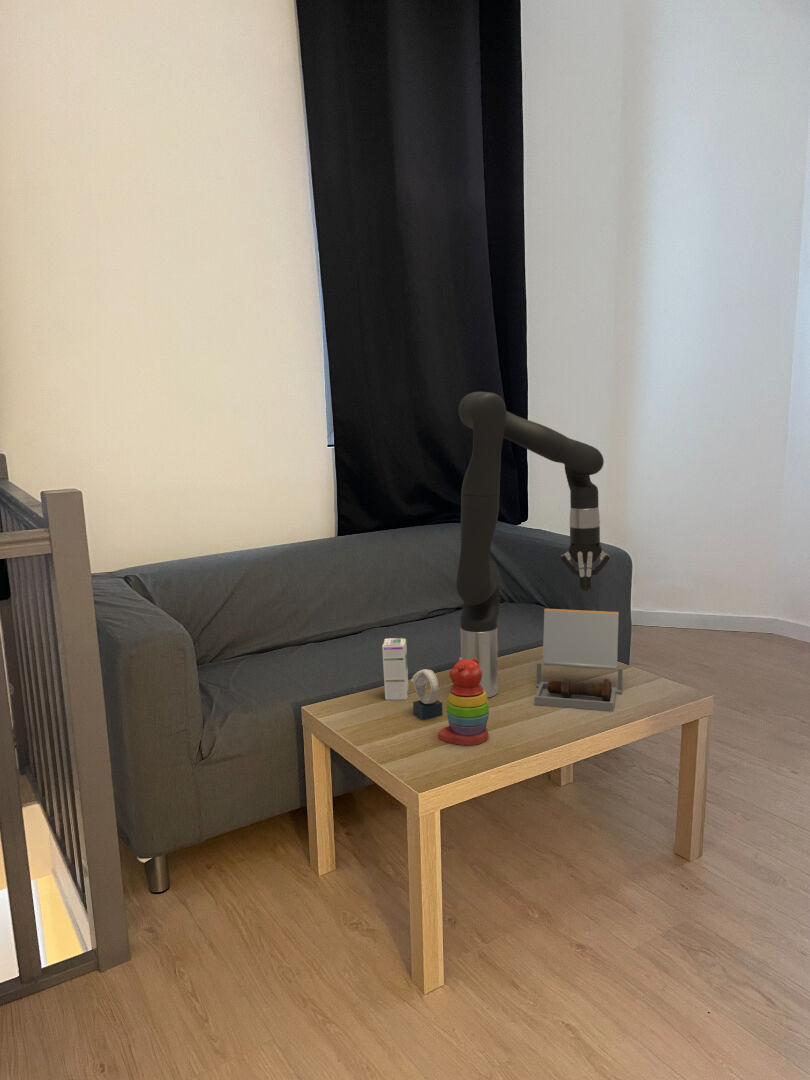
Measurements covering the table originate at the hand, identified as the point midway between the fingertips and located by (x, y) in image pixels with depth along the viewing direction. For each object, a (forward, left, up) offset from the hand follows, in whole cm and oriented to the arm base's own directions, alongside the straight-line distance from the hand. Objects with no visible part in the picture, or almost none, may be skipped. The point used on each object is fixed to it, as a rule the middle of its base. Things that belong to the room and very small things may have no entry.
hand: (585, 590), depth 215 cm
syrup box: (-45, -24, -24) cm, 56 cm away
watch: (-34, -34, -24) cm, 54 cm away
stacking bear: (-22, -44, -24) cm, 55 cm away
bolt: (0, -17, -23) cm, 29 cm away
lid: (-1, -7, -11) cm, 13 cm away
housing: (-1, -15, -24) cm, 28 cm away
